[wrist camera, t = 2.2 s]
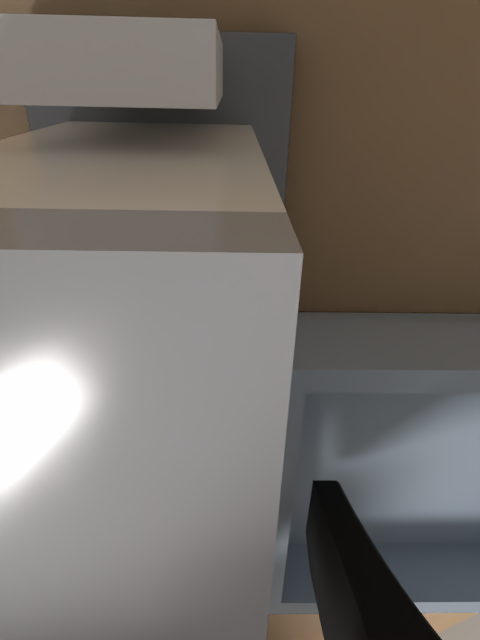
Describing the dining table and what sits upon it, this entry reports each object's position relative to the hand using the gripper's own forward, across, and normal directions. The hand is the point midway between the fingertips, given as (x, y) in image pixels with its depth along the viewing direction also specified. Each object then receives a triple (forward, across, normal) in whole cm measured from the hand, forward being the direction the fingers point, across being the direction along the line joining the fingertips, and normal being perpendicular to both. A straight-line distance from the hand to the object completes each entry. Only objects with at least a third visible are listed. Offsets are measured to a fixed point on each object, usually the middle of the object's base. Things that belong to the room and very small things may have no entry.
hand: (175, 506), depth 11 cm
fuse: (+2, 0, -7) cm, 7 cm away
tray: (+2, -7, 0) cm, 7 cm away
